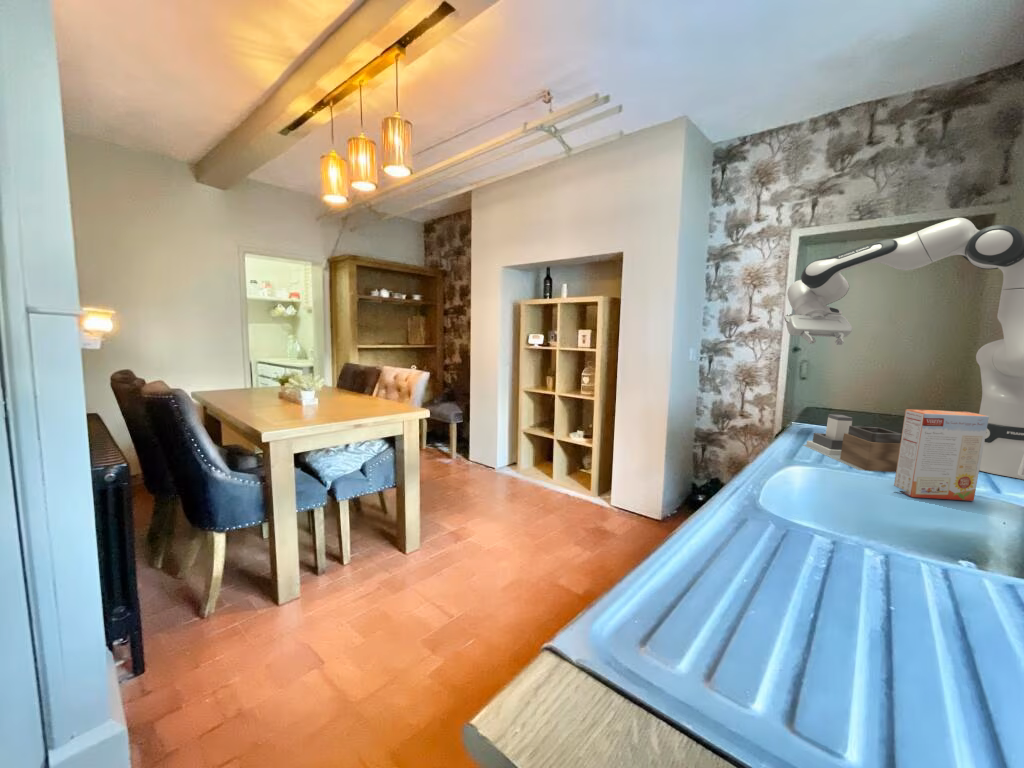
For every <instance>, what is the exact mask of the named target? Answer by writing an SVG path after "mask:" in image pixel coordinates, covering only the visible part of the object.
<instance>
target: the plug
mask: <svg viewBox="0 0 1024 768" xmlns="http://www.w3.org/2000/svg"><path fill="white" fill-rule="evenodd" d="M826 422H827V424H826V430H825V434H826V435H825V436H826V437H829V438H831V439H837V440H843V437H844V433H846V434H848V432H849V426H853V417H851V416H848V415H844V414H830V413H829V414H828V417H827V421H826Z"/></svg>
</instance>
